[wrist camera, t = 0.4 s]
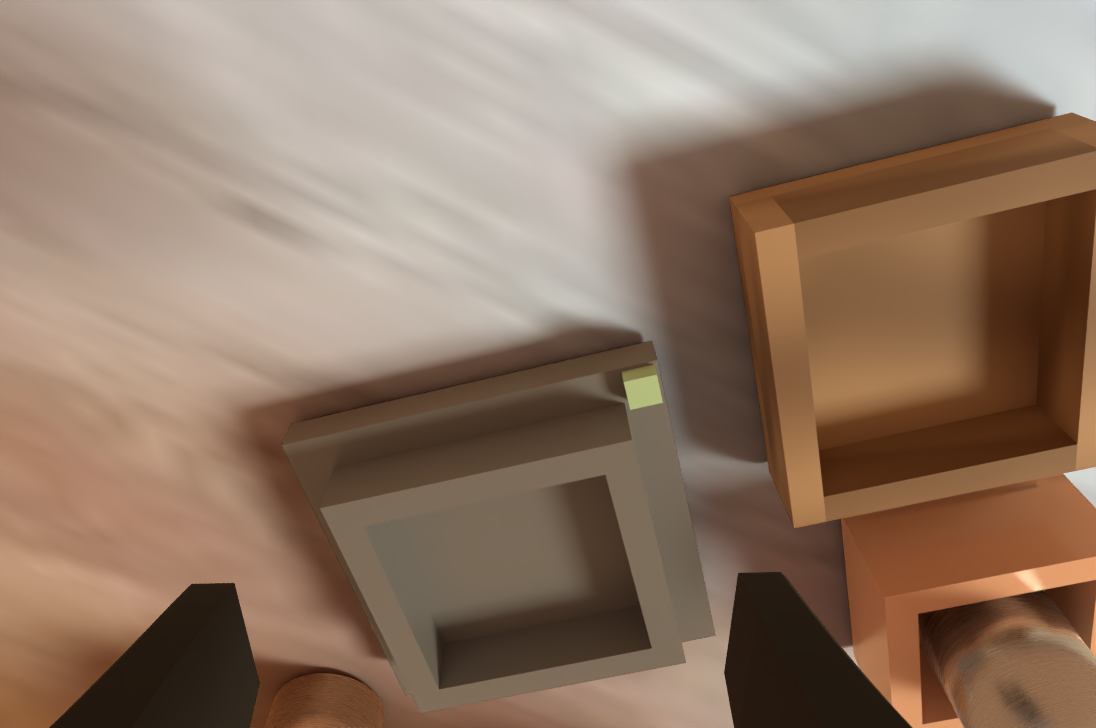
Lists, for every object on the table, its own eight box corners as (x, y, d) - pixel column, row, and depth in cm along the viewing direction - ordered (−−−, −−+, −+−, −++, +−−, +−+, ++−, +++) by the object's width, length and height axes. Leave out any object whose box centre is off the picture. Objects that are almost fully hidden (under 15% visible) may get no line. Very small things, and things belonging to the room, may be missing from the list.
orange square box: (1047, 618, 26) (1113, 708, 23) (853, 655, 26) (894, 747, 23) (1057, 468, 23) (1134, 548, 20) (839, 512, 23) (884, 597, 20)
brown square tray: (1053, 410, 22) (1109, 463, 20) (768, 470, 23) (794, 528, 21) (1071, 112, 18) (1143, 139, 16) (729, 196, 19) (755, 233, 17)
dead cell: (1019, 613, 25) (1164, 820, 19) (897, 636, 25) (1005, 846, 19) (1023, 523, 23) (1183, 721, 17) (892, 549, 23) (1009, 752, 18)
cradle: (708, 610, 25) (727, 679, 23) (409, 669, 26) (398, 742, 24) (651, 340, 21) (667, 394, 18) (291, 423, 21) (263, 484, 19)
